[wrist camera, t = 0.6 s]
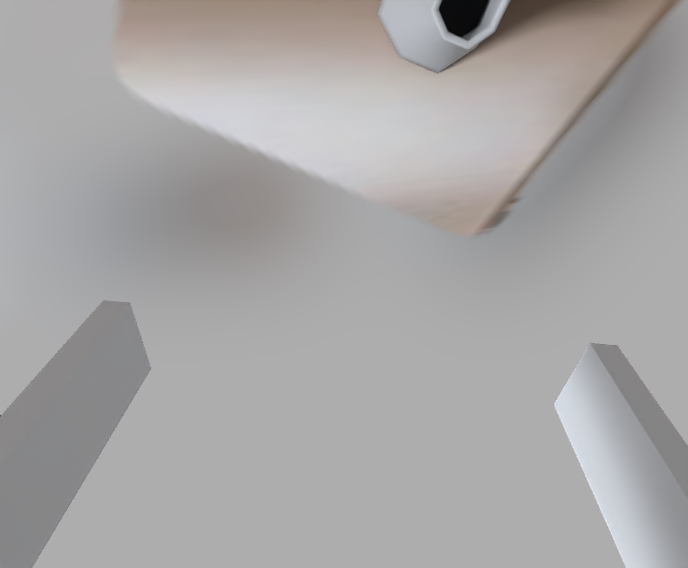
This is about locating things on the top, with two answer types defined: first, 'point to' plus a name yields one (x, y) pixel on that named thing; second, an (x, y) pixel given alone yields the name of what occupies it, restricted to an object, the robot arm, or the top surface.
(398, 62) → the top surface
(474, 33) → the flask
